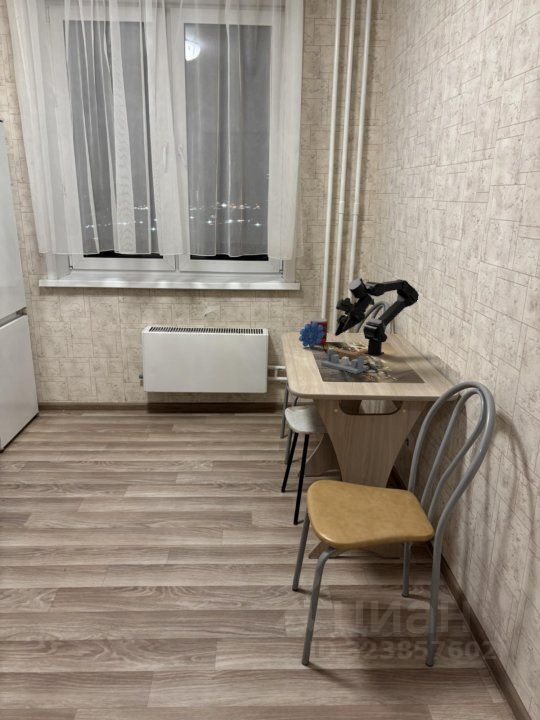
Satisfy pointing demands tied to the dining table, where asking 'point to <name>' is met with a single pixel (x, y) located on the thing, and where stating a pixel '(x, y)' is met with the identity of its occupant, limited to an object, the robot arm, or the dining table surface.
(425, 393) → the dining table surface
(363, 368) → the display cradle
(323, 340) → the canned food
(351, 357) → the brown rectangular block
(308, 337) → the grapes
